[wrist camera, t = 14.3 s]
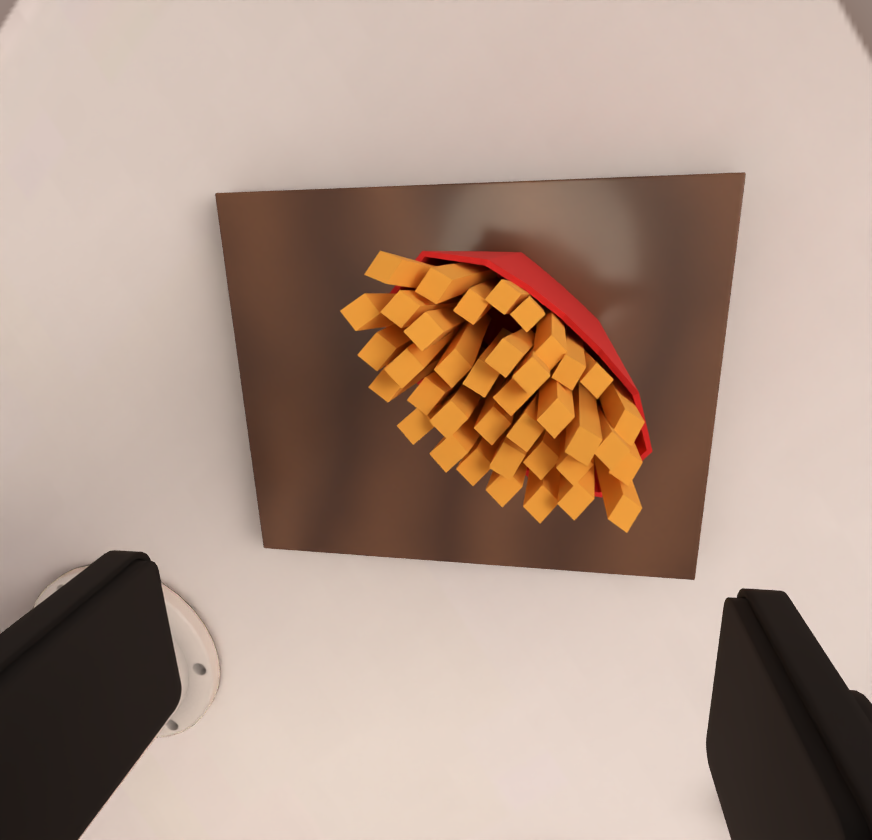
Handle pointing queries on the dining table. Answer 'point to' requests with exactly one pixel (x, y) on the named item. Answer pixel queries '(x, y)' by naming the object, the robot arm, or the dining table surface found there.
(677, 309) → the cutting board
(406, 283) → the french fries
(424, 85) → the dining table surface
